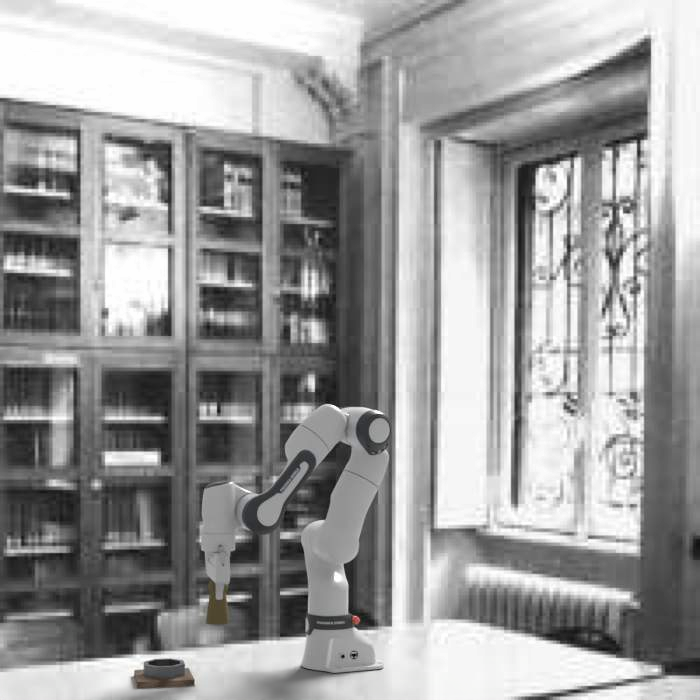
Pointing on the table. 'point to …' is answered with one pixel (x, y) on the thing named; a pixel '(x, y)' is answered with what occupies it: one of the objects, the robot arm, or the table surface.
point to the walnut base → (163, 680)
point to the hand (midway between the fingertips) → (217, 597)
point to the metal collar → (164, 669)
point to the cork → (217, 606)
